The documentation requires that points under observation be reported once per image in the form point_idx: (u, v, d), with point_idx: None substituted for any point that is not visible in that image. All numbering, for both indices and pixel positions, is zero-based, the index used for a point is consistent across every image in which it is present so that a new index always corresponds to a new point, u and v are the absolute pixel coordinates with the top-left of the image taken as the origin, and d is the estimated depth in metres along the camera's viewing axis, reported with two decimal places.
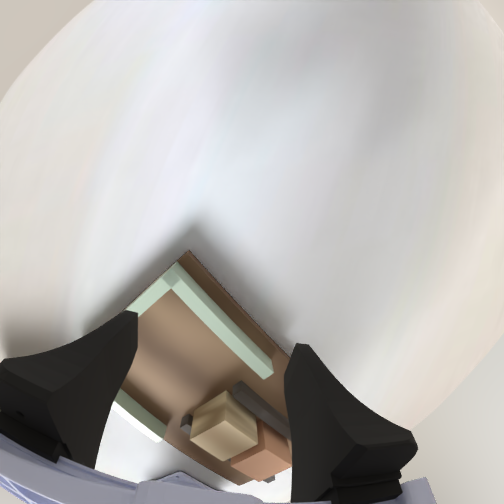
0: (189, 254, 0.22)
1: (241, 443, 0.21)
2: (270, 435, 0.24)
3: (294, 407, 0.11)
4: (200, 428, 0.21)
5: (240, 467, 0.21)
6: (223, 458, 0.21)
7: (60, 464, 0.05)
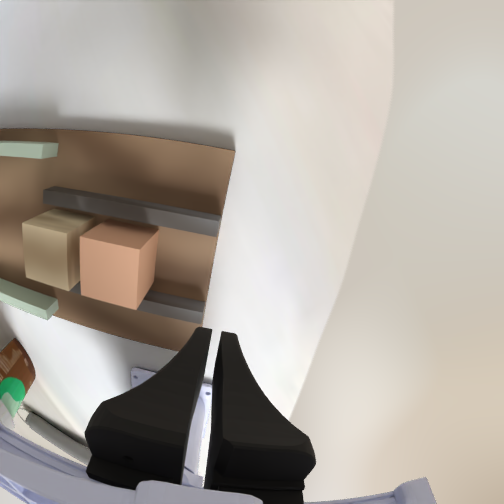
0: None
1: (55, 245, 0.16)
2: (110, 228, 0.18)
3: (214, 397, 0.11)
4: None
5: (90, 290, 0.17)
6: (65, 285, 0.17)
7: (60, 464, 0.05)
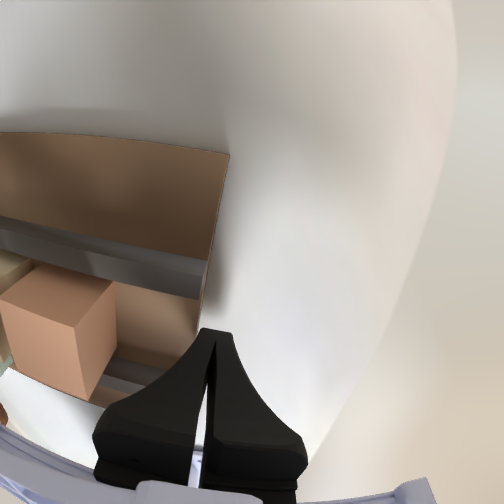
0: None
1: None
2: (44, 278, 0.10)
3: (209, 396, 0.11)
4: None
5: (26, 368, 0.09)
6: None
7: (60, 464, 0.05)
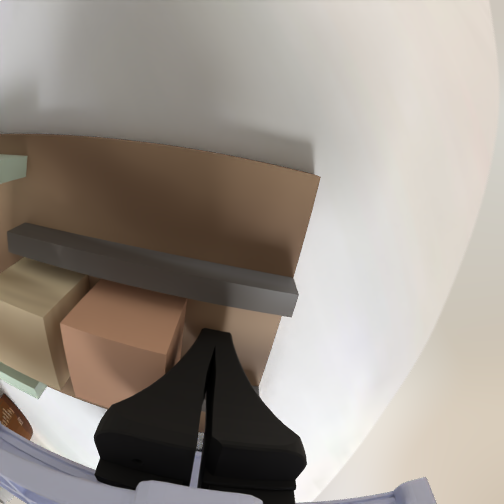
0: None
1: (29, 331, 0.09)
2: (109, 297, 0.11)
3: (208, 396, 0.11)
4: None
5: (88, 394, 0.10)
6: (54, 383, 0.10)
7: (61, 465, 0.05)
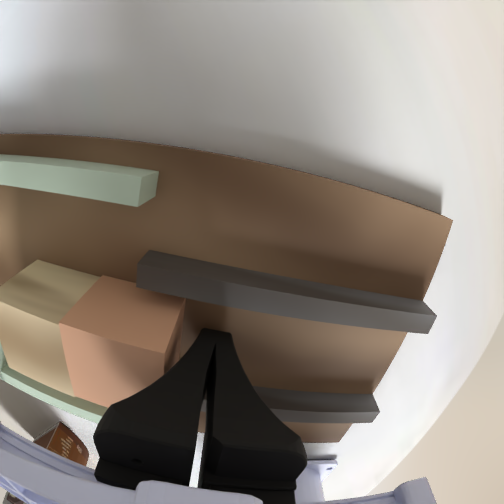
0: None
1: (43, 338, 0.09)
2: (108, 297, 0.11)
3: (208, 396, 0.11)
4: None
5: (87, 393, 0.10)
6: (68, 390, 0.10)
7: (60, 464, 0.05)
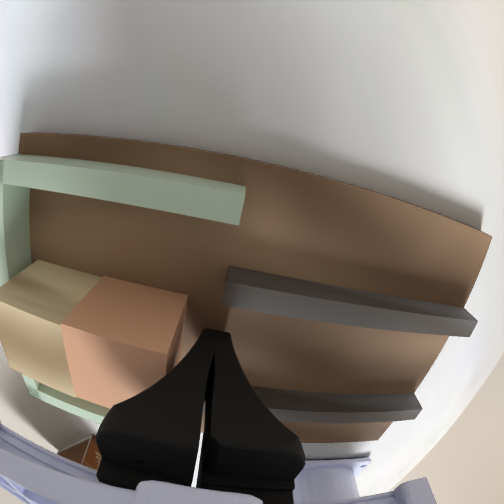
0: (26, 133, 0.10)
1: (44, 339, 0.09)
2: (110, 297, 0.11)
3: (207, 396, 0.11)
4: None
5: (89, 394, 0.10)
6: (69, 391, 0.10)
7: (60, 464, 0.05)
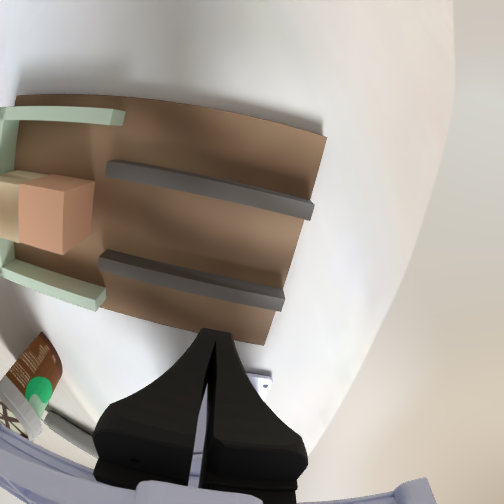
0: (20, 95, 0.15)
1: (9, 198, 0.14)
2: (50, 178, 0.16)
3: (208, 396, 0.11)
4: None
5: (26, 237, 0.15)
6: (16, 238, 0.15)
7: (61, 464, 0.05)
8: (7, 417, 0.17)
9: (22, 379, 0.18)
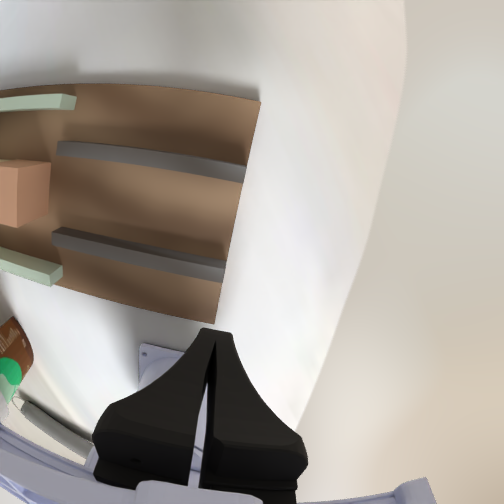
0: None
1: None
2: (12, 162, 0.16)
3: (208, 396, 0.11)
4: None
5: None
6: None
7: (61, 465, 0.05)
8: None
9: None
